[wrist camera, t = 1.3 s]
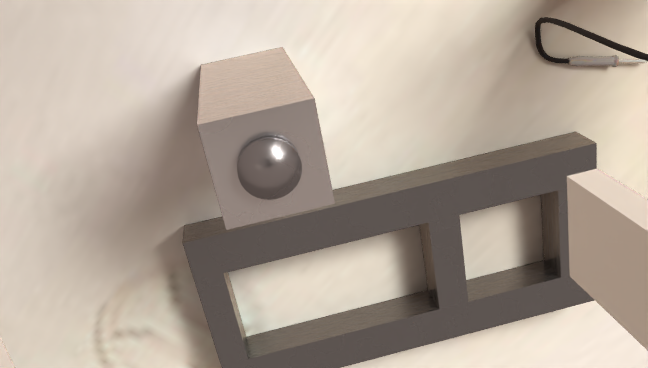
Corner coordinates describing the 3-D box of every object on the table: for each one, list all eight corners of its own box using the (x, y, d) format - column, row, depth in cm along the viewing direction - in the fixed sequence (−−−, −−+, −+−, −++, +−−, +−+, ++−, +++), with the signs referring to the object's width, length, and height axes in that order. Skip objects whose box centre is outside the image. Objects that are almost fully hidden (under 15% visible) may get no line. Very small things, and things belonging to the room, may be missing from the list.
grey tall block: (200, 64, 30) (196, 128, 20) (282, 47, 30) (316, 101, 20) (221, 142, 31) (226, 235, 22) (298, 124, 31) (337, 208, 22)
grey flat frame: (184, 225, 32) (182, 243, 31) (575, 131, 34) (596, 143, 32) (230, 373, 36) (231, 396, 35) (578, 282, 38) (596, 299, 37)
